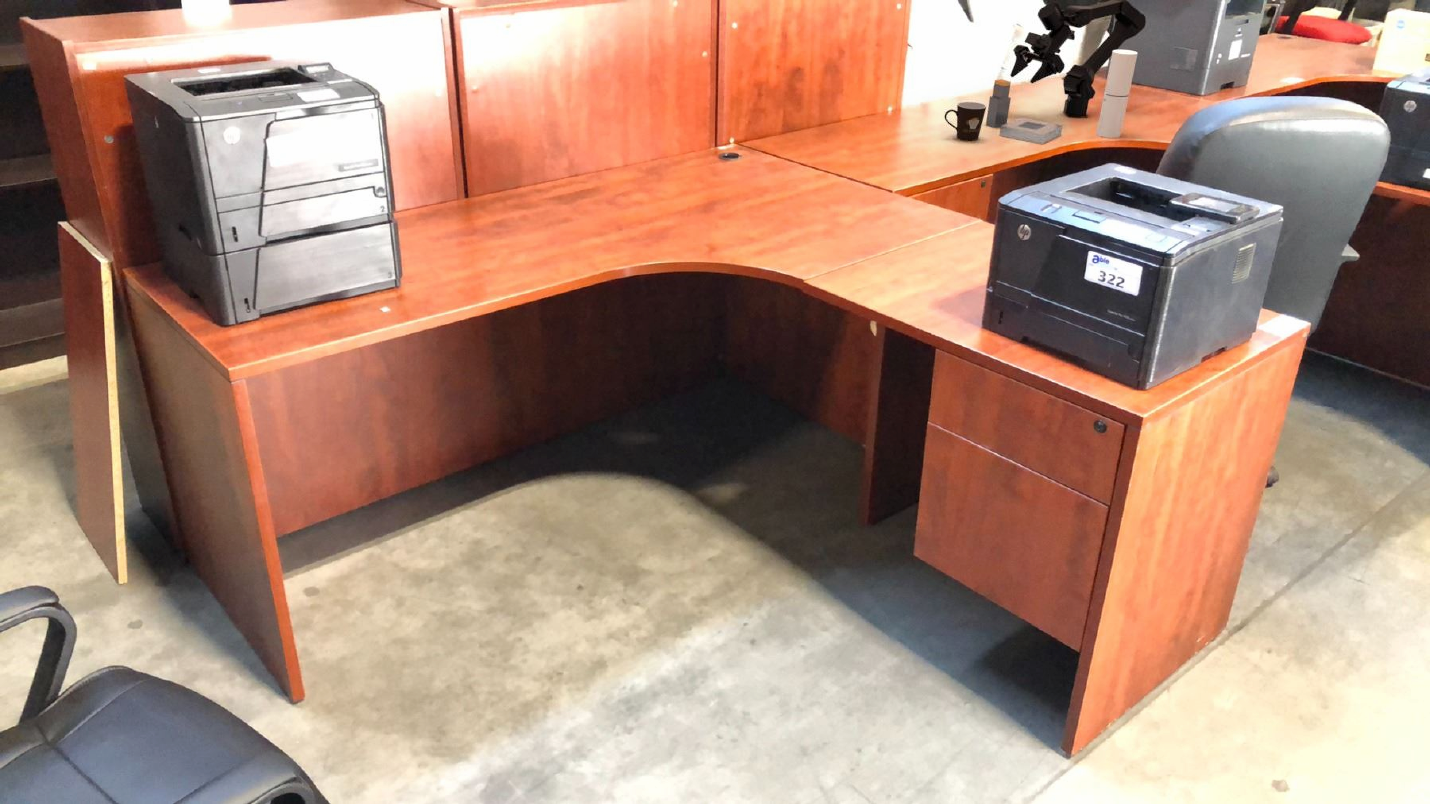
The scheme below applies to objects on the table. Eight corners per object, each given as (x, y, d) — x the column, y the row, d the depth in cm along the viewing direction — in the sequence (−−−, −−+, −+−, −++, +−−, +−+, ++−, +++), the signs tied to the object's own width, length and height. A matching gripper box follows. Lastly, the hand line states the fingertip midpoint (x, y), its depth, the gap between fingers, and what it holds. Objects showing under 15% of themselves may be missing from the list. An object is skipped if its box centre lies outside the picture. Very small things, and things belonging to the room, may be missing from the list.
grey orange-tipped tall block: (997, 123, 335) (1004, 79, 328) (1006, 126, 332) (1013, 81, 325) (985, 125, 333) (992, 80, 326) (994, 128, 330) (1000, 83, 323)
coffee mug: (983, 136, 321) (988, 103, 316) (979, 143, 314) (984, 110, 309) (945, 132, 324) (949, 99, 319) (941, 139, 317) (945, 106, 312)
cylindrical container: (1108, 139, 321) (1125, 55, 308) (1091, 133, 326) (1107, 50, 314) (1125, 136, 324) (1142, 53, 311) (1108, 130, 329) (1124, 48, 317)
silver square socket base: (1019, 126, 331) (1020, 117, 330) (1061, 135, 324) (1062, 125, 322) (999, 135, 322) (1000, 125, 320) (1041, 144, 314) (1043, 134, 313)
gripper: (1022, 18, 330) (990, 56, 331) (1064, 27, 315) (1030, 68, 316) (1037, 42, 337) (1005, 79, 338) (1079, 53, 322) (1045, 92, 323)
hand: (1020, 79), depth 329 cm, fingers open, 9 cm apart
